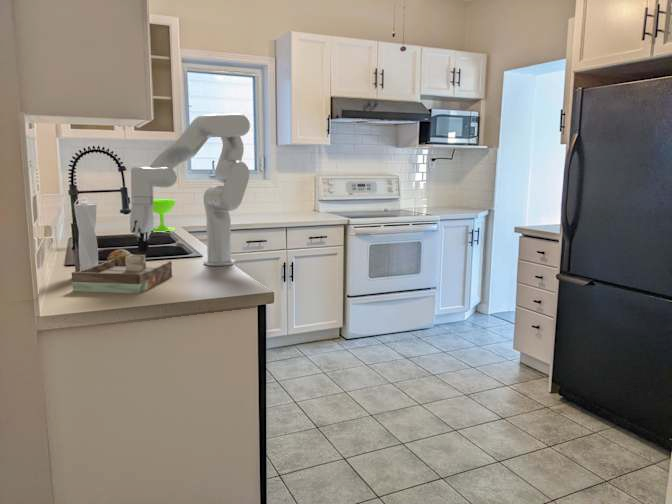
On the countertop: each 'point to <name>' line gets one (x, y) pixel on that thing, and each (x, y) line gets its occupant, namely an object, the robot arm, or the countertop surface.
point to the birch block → (135, 262)
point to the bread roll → (119, 257)
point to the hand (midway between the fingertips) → (143, 251)
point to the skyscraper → (86, 235)
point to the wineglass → (162, 212)
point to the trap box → (119, 278)
